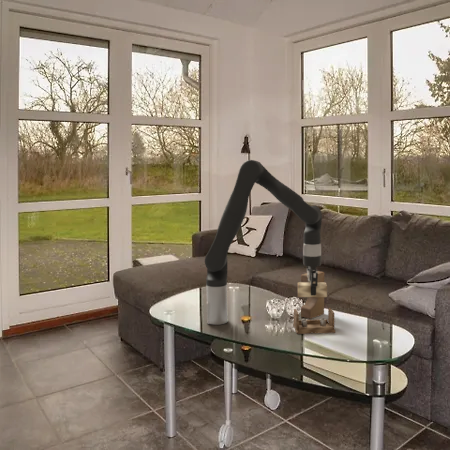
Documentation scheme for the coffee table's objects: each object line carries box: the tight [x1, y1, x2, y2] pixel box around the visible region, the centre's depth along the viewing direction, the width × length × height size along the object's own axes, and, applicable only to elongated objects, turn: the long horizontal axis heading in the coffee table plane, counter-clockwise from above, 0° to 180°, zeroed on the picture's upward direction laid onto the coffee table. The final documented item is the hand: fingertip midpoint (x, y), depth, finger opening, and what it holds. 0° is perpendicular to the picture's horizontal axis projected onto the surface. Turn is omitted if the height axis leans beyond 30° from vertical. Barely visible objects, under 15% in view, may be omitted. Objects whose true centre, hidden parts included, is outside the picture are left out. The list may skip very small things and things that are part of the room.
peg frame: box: [292, 307, 336, 335], centre depth 218 cm, size 16×10×8 cm, turn 91°
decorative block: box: [300, 270, 325, 320], centre depth 235 cm, size 11×6×20 cm, turn 132°
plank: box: [297, 281, 328, 298], centre depth 216 cm, size 12×5×5 cm, turn 83°
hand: (312, 293), depth 216 cm, fingers closed on plank, 5 cm apart
